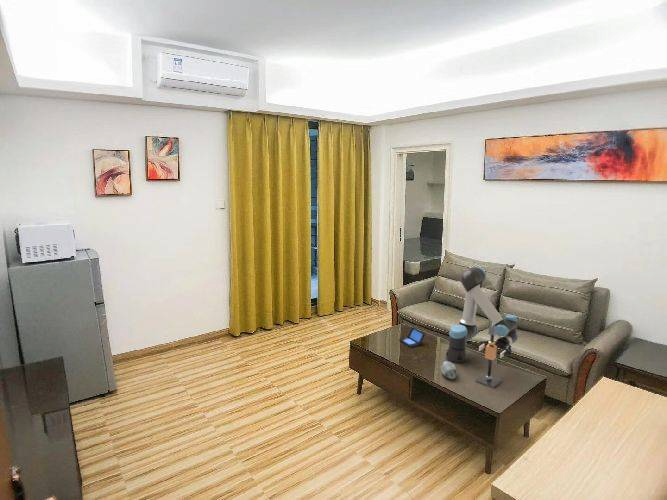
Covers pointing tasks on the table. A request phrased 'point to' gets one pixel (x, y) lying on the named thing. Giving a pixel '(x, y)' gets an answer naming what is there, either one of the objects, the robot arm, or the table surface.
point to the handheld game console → (413, 338)
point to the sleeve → (490, 352)
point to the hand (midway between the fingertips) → (489, 352)
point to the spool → (448, 370)
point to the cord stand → (489, 364)
